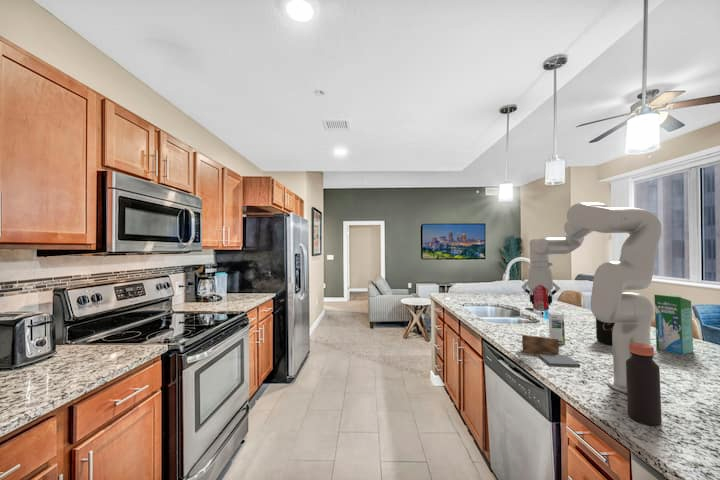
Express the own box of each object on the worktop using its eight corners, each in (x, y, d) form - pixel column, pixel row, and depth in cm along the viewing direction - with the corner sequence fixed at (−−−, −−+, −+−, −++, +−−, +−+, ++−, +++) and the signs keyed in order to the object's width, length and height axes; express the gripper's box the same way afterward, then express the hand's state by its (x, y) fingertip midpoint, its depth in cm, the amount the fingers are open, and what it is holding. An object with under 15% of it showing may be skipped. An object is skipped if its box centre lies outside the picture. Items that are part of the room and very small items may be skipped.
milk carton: (693, 352, 138) (691, 295, 138) (682, 354, 134) (680, 296, 135) (667, 346, 146) (665, 293, 147) (656, 348, 143) (654, 294, 143)
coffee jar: (602, 345, 149) (600, 307, 149) (592, 339, 159) (591, 303, 159) (629, 347, 145) (627, 308, 146) (617, 340, 156) (616, 304, 156)
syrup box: (551, 343, 152) (550, 313, 153) (549, 340, 158) (548, 311, 158) (565, 344, 150) (564, 314, 151) (562, 341, 155) (561, 312, 156)
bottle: (639, 425, 81) (636, 348, 82) (621, 412, 88) (619, 341, 89) (668, 427, 80) (665, 349, 81) (648, 413, 87) (646, 342, 88)
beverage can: (544, 309, 147) (543, 283, 147) (551, 311, 140) (550, 285, 141) (531, 309, 147) (530, 283, 148) (537, 311, 141) (536, 285, 142)
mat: (580, 367, 122) (579, 364, 122) (549, 365, 123) (549, 363, 123) (565, 357, 133) (565, 355, 133) (538, 356, 134) (538, 353, 134)
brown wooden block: (558, 353, 138) (557, 337, 138) (559, 356, 133) (558, 340, 133) (522, 348, 144) (522, 333, 145) (522, 352, 140) (522, 336, 140)
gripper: (560, 265, 144) (562, 304, 143) (518, 264, 152) (520, 301, 151) (562, 265, 137) (563, 306, 136) (518, 265, 146) (519, 304, 145)
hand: (540, 303), depth 144 cm, fingers closed on beverage can, 6 cm apart
